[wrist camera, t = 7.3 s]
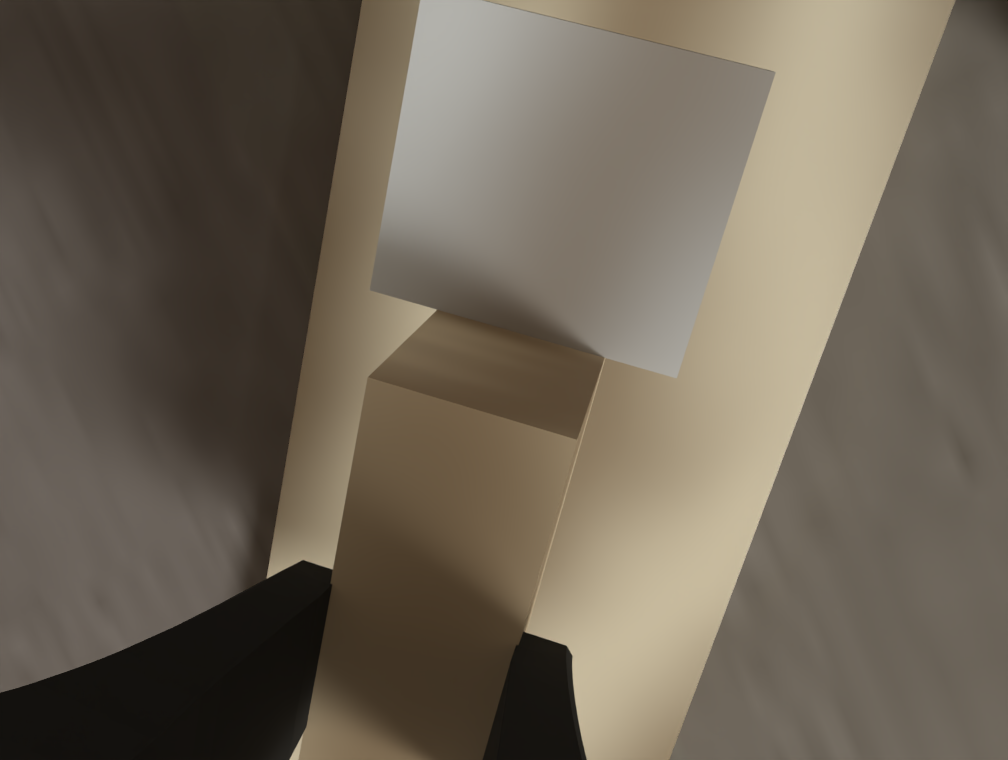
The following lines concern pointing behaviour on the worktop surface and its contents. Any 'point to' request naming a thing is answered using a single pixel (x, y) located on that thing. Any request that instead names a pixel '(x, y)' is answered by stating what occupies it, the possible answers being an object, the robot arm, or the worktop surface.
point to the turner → (509, 342)
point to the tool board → (625, 388)
